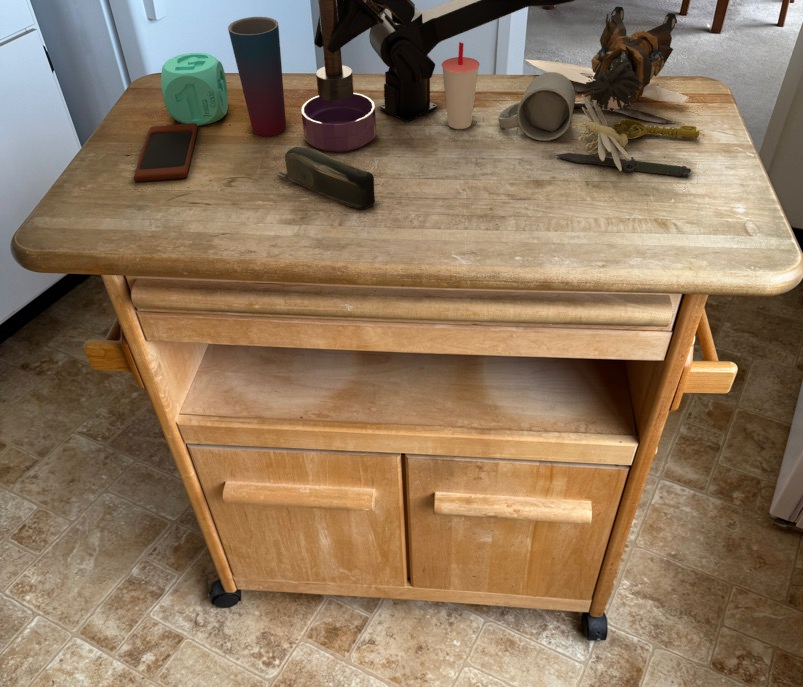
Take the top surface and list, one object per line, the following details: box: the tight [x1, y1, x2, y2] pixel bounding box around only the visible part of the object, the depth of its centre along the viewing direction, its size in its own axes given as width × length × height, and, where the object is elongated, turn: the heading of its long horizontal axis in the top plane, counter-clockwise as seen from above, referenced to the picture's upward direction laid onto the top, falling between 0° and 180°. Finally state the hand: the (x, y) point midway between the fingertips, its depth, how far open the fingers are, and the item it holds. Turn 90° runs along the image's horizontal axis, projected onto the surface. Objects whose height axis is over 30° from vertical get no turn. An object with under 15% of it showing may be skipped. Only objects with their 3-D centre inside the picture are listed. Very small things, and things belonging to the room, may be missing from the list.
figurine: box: [584, 6, 678, 113], centre depth 110 cm, size 11×13×30 cm
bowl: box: [300, 92, 377, 153], centre depth 109 cm, size 10×10×4 cm
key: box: [611, 118, 700, 140], centre depth 107 cm, size 12×1×5 cm
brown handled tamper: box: [315, 0, 355, 101], centre depth 101 cm, size 5×5×13 cm
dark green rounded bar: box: [277, 146, 376, 210], centre depth 97 cm, size 5×3×15 cm
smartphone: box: [133, 123, 199, 182], centre depth 107 cm, size 7×1×15 cm
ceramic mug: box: [497, 71, 576, 142], centre depth 108 cm, size 11×8×8 cm
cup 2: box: [441, 41, 481, 130], centre depth 108 cm, size 5×5×12 cm
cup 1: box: [227, 16, 287, 137], centre depth 108 cm, size 7×7×15 cm
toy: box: [572, 93, 641, 172], centre depth 103 cm, size 15×9×5 cm, turn 8°
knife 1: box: [525, 59, 690, 106], centre depth 119 cm, size 6×28×1 cm, turn 51°
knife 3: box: [554, 152, 692, 178], centre depth 101 cm, size 18×1×3 cm
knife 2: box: [573, 102, 676, 124], centre depth 112 cm, size 18×1×5 cm
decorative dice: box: [160, 52, 229, 127], centre depth 114 cm, size 8×8×8 cm
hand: (323, 48), depth 101 cm, fingers closed on brown handled tamper, 2 cm apart
